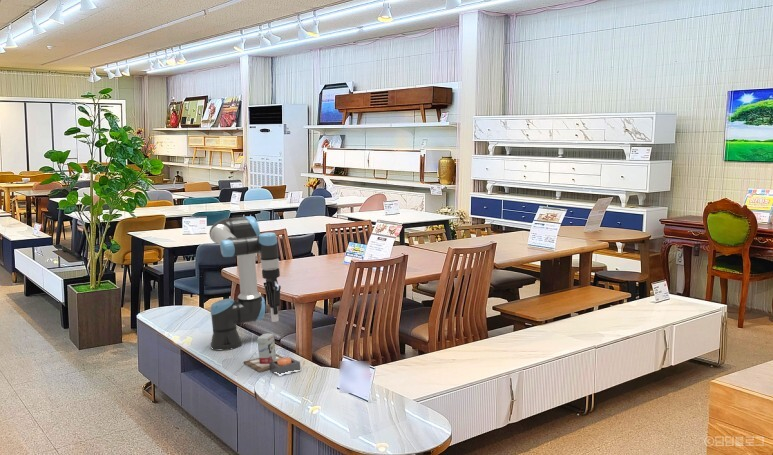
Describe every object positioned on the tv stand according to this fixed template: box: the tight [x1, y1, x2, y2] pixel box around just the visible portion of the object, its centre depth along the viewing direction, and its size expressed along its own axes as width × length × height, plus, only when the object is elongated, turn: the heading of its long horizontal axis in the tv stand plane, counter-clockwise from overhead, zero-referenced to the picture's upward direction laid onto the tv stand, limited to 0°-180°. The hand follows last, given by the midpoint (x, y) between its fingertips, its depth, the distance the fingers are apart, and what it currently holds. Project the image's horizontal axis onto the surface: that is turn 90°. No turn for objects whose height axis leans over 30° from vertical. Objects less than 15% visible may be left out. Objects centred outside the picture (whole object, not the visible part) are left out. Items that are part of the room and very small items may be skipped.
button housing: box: [269, 357, 301, 374], centre depth 297 cm, size 10×10×4 cm
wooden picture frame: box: [243, 353, 284, 373], centre depth 310 cm, size 18×16×1 cm
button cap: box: [277, 356, 292, 366], centre depth 297 cm, size 6×6×4 cm
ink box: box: [257, 333, 277, 364], centre depth 309 cm, size 9×5×12 cm, turn 167°
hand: (275, 321), depth 300 cm, fingers closed
